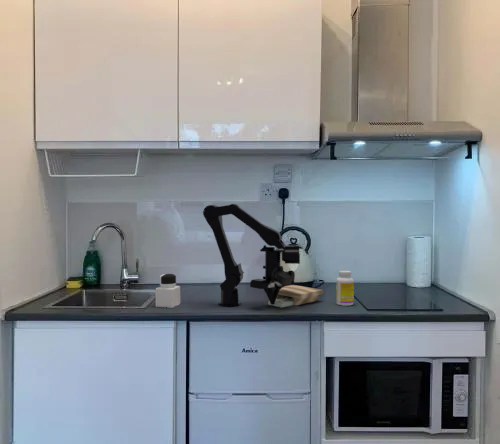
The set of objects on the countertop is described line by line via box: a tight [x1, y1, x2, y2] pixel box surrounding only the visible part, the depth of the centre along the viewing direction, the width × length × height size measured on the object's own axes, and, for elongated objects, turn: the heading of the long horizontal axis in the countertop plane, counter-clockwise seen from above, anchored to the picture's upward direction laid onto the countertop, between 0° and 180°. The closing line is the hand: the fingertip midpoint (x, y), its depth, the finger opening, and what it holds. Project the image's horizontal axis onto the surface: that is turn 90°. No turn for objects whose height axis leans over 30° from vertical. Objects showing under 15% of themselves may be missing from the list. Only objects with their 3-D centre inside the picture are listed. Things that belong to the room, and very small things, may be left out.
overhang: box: [276, 284, 324, 306], centre depth 193 cm, size 14×16×5 cm
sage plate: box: [267, 297, 295, 308], centre depth 189 cm, size 14×7×2 cm, turn 133°
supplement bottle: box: [335, 270, 355, 307], centre depth 187 cm, size 7×7×13 cm
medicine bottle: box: [155, 273, 181, 309], centre depth 185 cm, size 7×7×12 cm
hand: (272, 304), depth 184 cm, fingers closed
